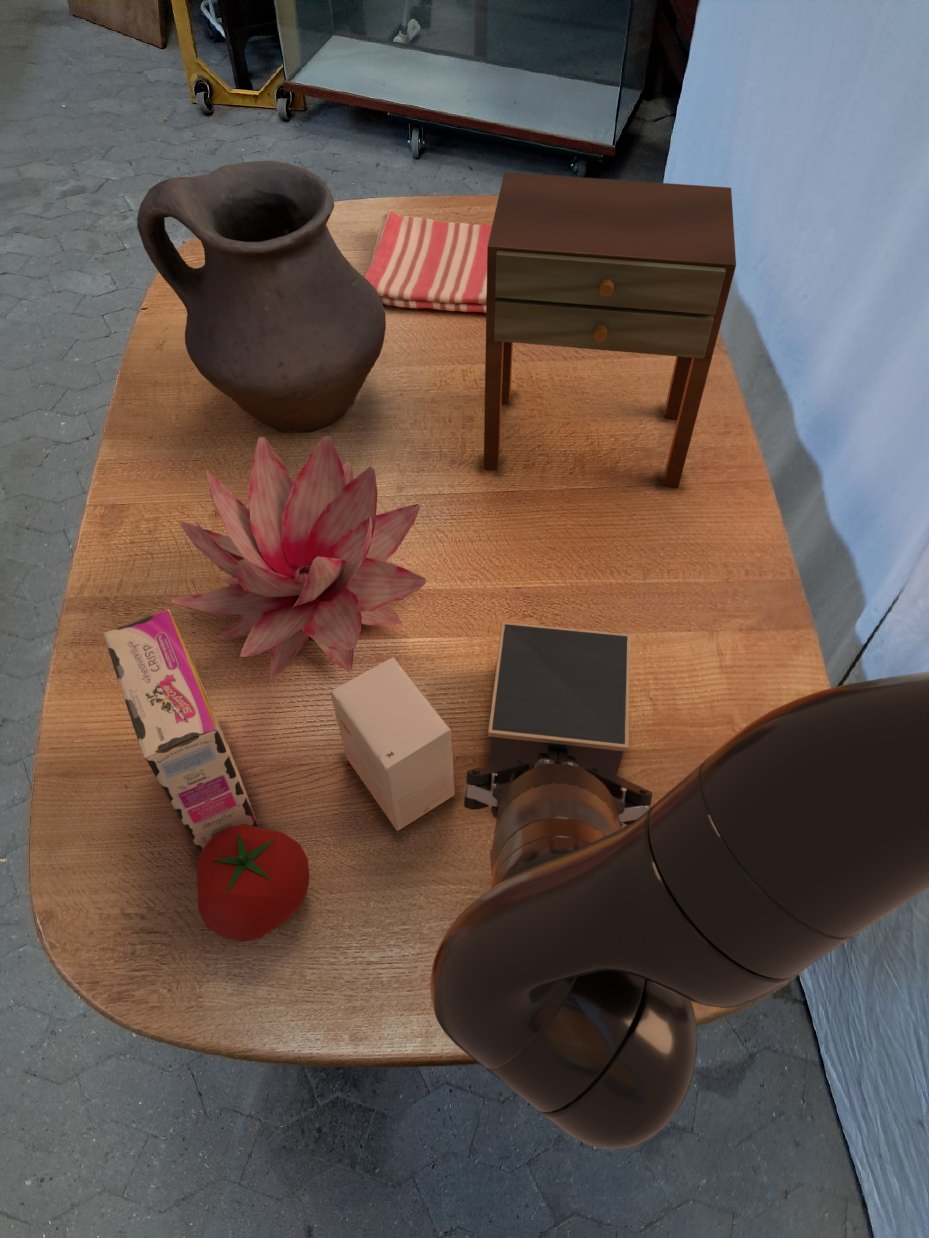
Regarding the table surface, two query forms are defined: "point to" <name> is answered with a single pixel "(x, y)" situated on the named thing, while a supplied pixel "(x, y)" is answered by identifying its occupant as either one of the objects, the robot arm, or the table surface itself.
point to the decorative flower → (304, 557)
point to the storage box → (561, 695)
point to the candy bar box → (178, 727)
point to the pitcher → (267, 291)
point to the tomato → (250, 881)
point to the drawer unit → (608, 282)
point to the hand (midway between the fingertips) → (555, 761)
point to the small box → (395, 742)
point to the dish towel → (430, 264)
